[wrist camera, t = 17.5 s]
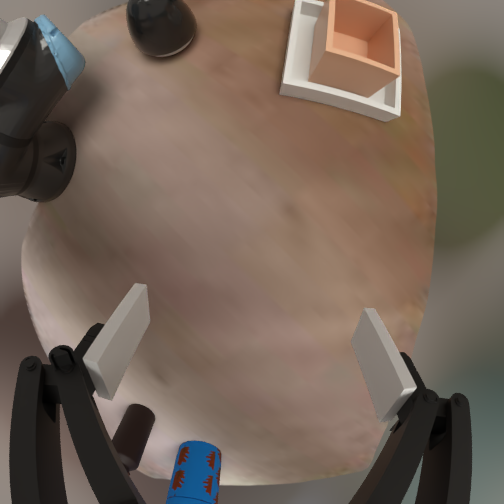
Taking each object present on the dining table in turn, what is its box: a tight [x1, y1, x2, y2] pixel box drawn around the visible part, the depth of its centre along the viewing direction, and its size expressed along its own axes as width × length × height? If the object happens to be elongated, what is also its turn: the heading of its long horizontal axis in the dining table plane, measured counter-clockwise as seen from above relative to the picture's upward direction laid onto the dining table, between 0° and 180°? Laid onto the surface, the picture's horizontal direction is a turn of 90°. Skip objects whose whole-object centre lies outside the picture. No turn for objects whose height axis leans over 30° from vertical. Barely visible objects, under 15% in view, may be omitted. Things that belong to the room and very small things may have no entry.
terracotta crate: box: [308, 0, 400, 98], centre depth 29 cm, size 10×12×11 cm
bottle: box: [112, 404, 155, 475], centre depth 41 cm, size 7×7×20 cm
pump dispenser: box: [126, 0, 197, 57], centre depth 27 cm, size 10×10×15 cm
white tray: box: [279, 0, 401, 122], centre depth 33 cm, size 18×18×5 cm
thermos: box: [166, 441, 221, 504], centre depth 42 cm, size 11×11×25 cm
